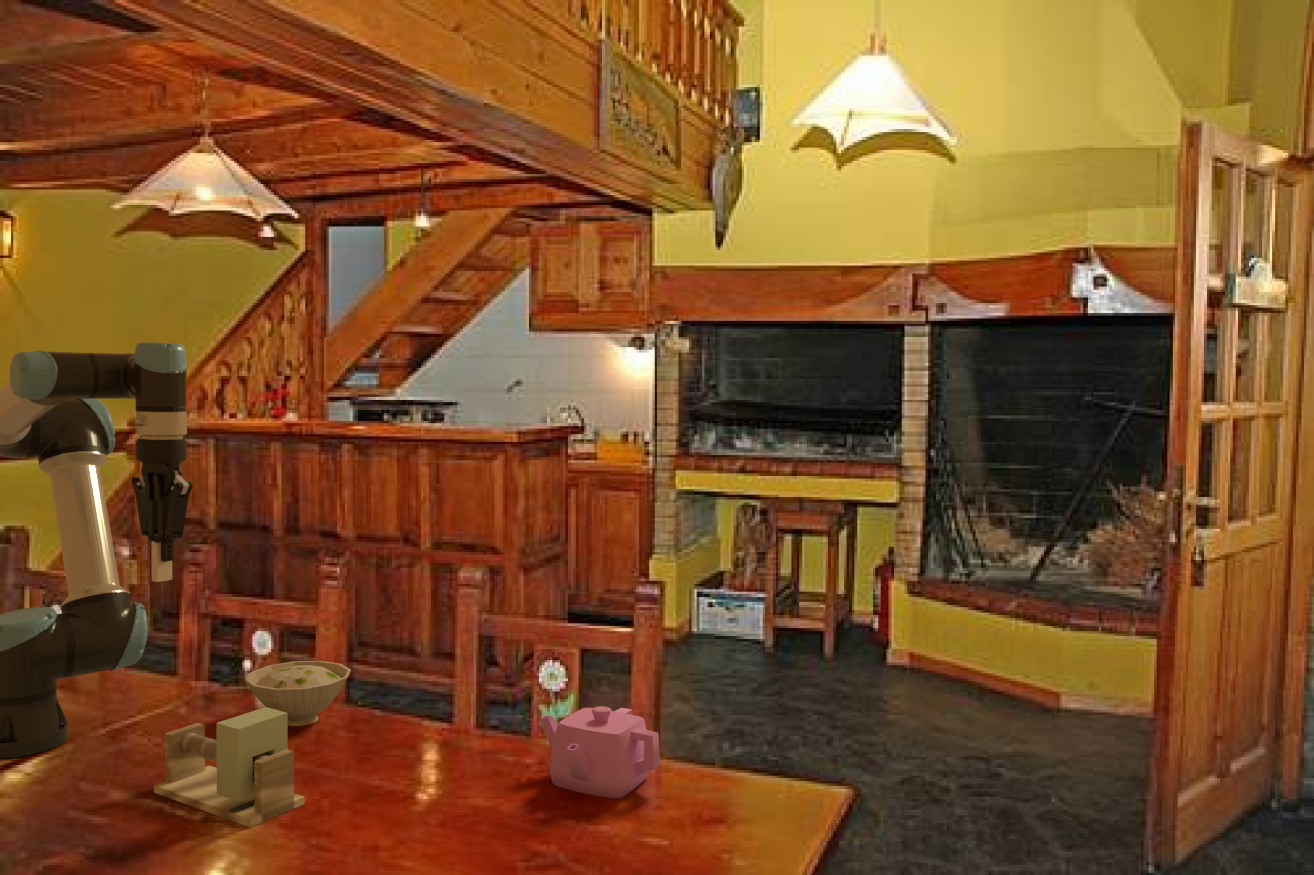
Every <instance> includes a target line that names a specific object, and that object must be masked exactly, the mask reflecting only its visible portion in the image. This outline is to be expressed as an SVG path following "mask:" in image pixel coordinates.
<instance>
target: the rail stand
mask: <svg viewBox="0 0 1314 875" xmlns="http://www.w3.org/2000/svg"><path fill="white" fill-rule="evenodd" d="M205 726H206V725H205V724H203V723H201V722H200V723H199V722H197V723H193V724H191V725H187V726H183V727H180V728H177V729H174V730H171V731H168V732H166V733H164V757H165V758H164V759H165V760H164V769H165V770H164V772H165V773H164V774H165V777H164V780H165V781H161V782H159V783H156V784H154V785H153V793H155V794H157V795H159V796H162V797H165V798H168V799H170V800H173V801H176V802H179V803H180V804H181V803H182V804H185V805H187V806H190V807H192V808H195V809H198V810H201V811H204V812H206V813H209V814H212V815H215V816H217V817H220V818H223V819H226V820H228V821H231V822H234V823H236V824H239V825H242V826H245V827H248V828H253V827H255V826H257V825H260V824H262V823H264V822H267V821H269V820H271V819H273V818H276V817H278V816H280V815H283V814H286V813H287V812H289V811H293V810H294V809H296V808H299V807H301V806H304V805H305V796H303V795H301V794H298V793H295V751H293V750H291V749H288V748H287V750H284V751H281V752H279V753H276V754H273V755H270V756H268V755H267V754H264V753H262V754H259V755H257V756H254V757H253V775H254V795H253V796H251V797H248V798H246V799H243V800H241V801H236V800H233V799H230V798H227V797H224V796H221V795H218V794H217V766H216V767H215V766H212V765H207V766H206V765H205V764H206V760H209V761H212V762H216V763H217V739H213V738H211V737H207V736H205V734H206V732H205V729H206V727H205Z"/></svg>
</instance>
